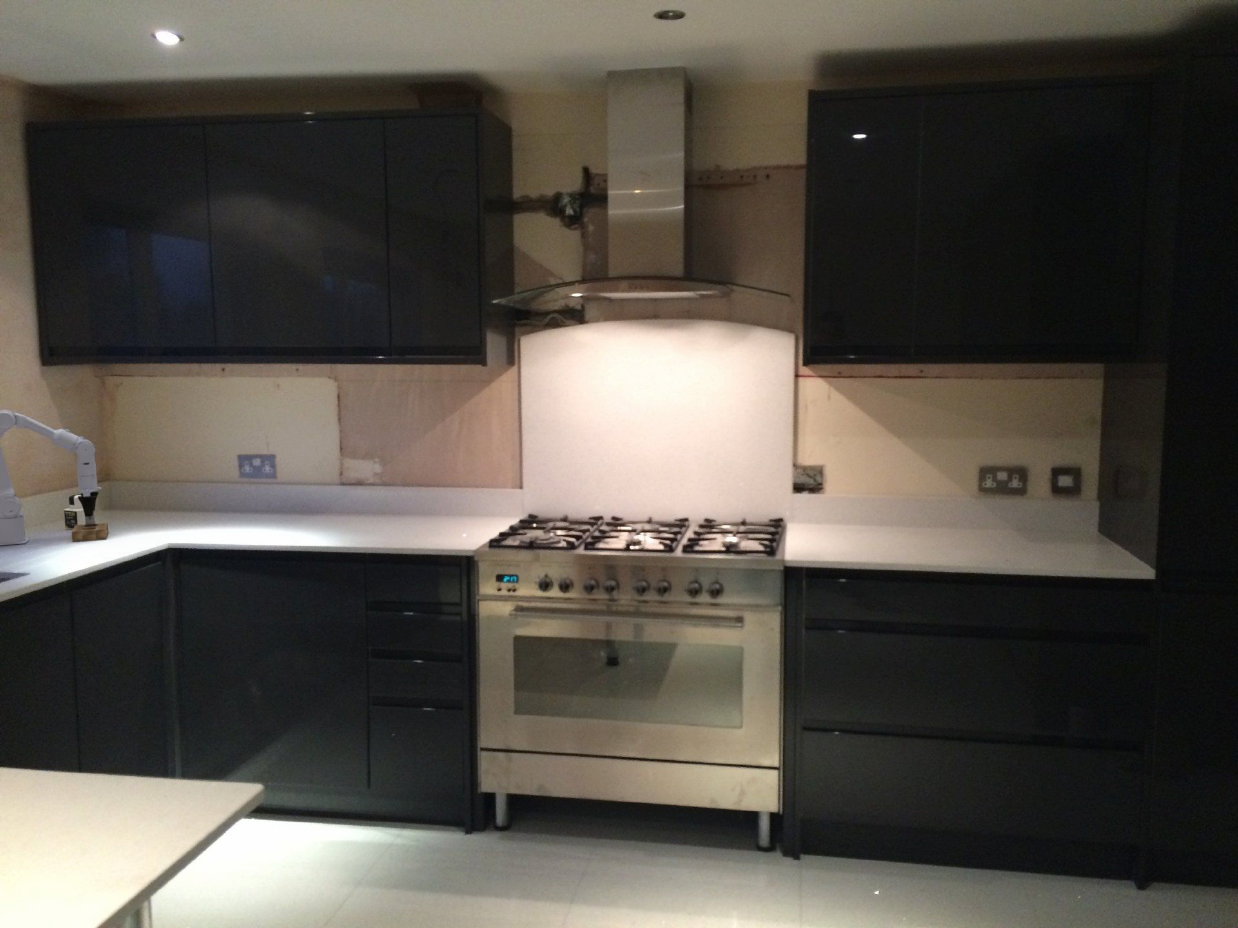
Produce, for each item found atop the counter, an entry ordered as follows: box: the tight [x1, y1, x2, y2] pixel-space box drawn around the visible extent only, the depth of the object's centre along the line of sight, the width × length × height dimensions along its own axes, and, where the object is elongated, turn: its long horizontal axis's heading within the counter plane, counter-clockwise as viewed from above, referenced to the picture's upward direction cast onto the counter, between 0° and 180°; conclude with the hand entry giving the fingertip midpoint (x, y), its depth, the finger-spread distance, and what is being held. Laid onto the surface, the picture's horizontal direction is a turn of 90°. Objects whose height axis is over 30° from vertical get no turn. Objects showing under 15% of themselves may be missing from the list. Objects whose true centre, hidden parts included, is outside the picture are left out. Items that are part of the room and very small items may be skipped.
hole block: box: [71, 522, 109, 543], centre depth 342 cm, size 10×14×4 cm
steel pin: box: [85, 511, 96, 527], centre depth 345 cm, size 3×3×8 cm
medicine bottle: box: [63, 493, 97, 530], centre depth 360 cm, size 7×7×12 cm
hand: (89, 514), depth 344 cm, fingers open, 7 cm apart
